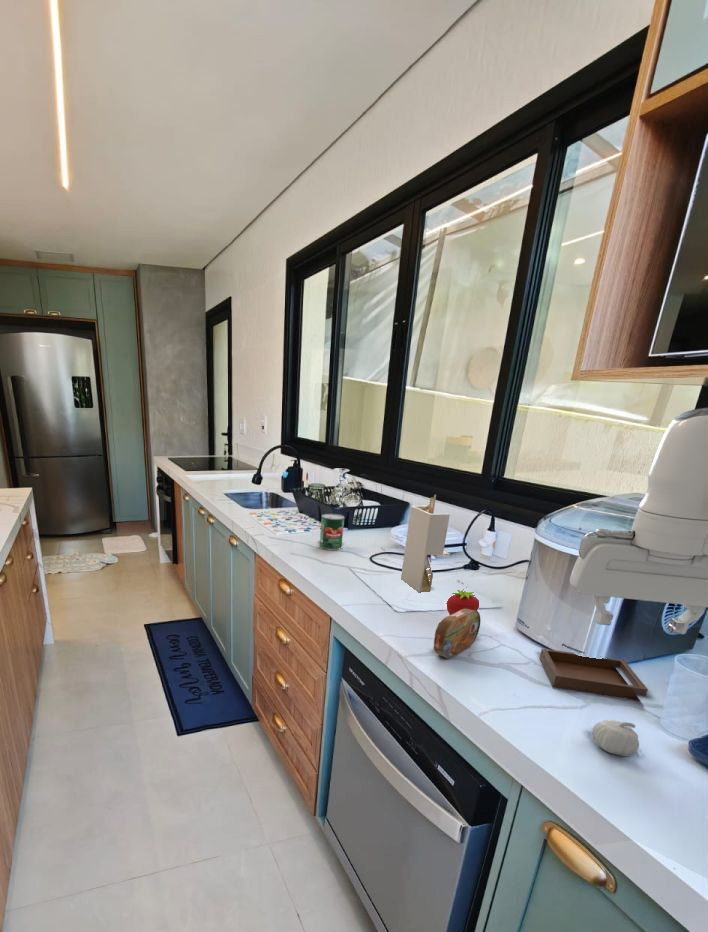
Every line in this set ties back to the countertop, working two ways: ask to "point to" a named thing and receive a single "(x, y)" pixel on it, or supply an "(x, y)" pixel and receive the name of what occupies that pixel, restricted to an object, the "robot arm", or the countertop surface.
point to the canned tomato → (331, 531)
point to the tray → (591, 675)
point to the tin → (456, 633)
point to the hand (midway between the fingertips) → (638, 627)
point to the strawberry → (462, 602)
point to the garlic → (616, 737)
